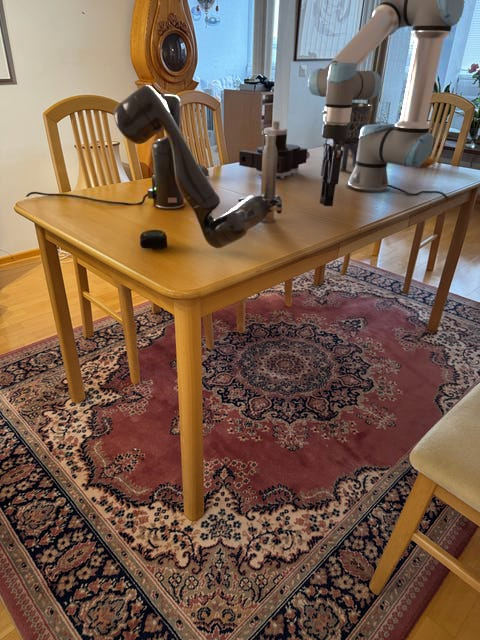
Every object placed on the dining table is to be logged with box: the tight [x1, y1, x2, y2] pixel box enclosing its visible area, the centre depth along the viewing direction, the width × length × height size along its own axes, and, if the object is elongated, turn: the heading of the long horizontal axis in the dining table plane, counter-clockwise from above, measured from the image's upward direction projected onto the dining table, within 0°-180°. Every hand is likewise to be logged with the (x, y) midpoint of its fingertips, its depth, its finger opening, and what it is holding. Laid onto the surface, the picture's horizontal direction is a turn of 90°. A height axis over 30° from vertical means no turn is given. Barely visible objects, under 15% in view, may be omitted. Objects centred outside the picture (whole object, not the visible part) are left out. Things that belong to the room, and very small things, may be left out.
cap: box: [319, 195, 325, 206], centre depth 142 cm, size 4×4×2 cm
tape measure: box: [139, 229, 168, 250], centre depth 117 cm, size 7×7×4 cm
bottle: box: [260, 135, 277, 223], centre depth 134 cm, size 4×4×25 cm
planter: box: [325, 101, 374, 172], centre depth 204 cm, size 20×20×26 cm
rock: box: [197, 163, 210, 178], centre depth 182 cm, size 13×9×6 cm, turn 131°
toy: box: [418, 155, 435, 169], centre depth 214 cm, size 11×6×15 cm
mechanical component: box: [238, 120, 311, 179], centre depth 191 cm, size 22×21×30 cm
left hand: (270, 197), depth 139 cm, fingers closed on bottle, 4 cm apart
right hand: (326, 203), depth 143 cm, fingers closed on cap, 4 cm apart
